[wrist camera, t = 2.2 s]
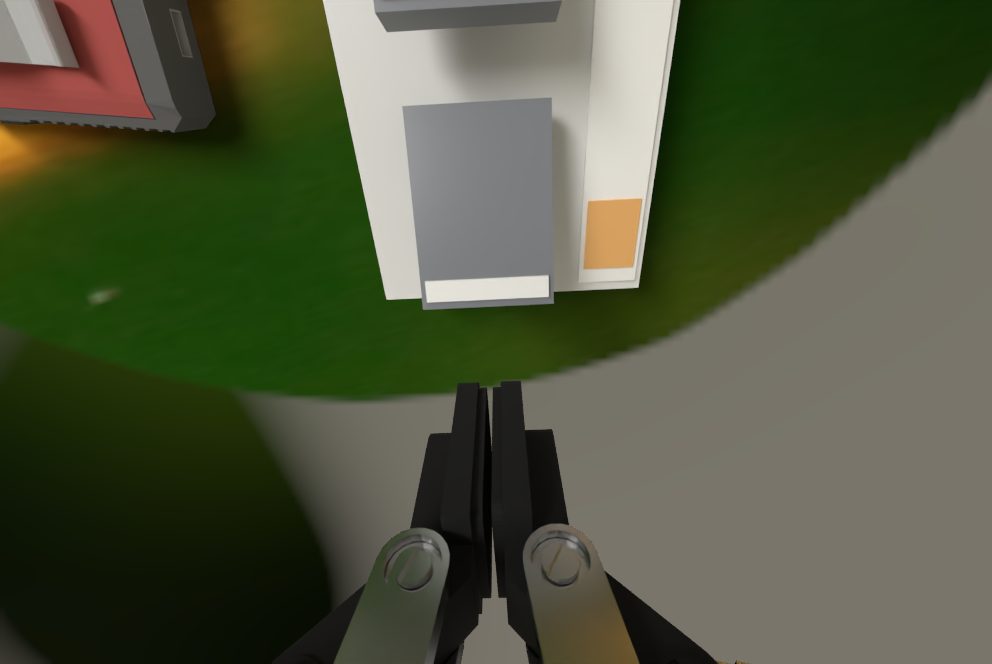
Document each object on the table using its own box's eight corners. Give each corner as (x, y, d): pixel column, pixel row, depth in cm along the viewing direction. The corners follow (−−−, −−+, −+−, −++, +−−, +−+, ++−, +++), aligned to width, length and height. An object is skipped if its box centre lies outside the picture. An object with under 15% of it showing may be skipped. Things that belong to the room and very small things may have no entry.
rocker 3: (409, 114, 15) (401, 104, 13) (547, 106, 14) (552, 95, 13) (428, 303, 17) (422, 310, 15) (549, 297, 16) (554, 304, 15)
